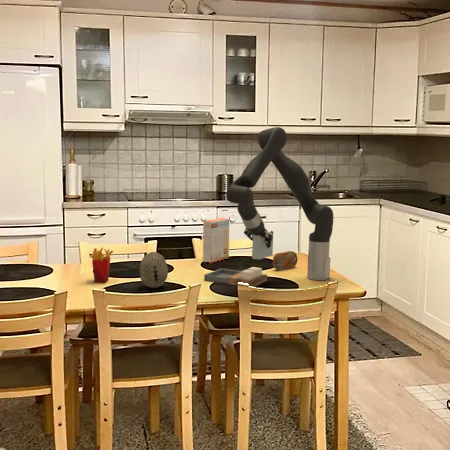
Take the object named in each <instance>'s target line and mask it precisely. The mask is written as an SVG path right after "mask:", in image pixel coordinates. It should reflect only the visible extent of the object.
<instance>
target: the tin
mask: <svg viewBox="0 0 450 450" xmlns="http://www.w3.org/2000/svg"><path fill="white" fill-rule="evenodd" d="M297 263H298V255H297V253H296V251H291V250H287V251H282V252H277V253H276V254H274V256H273V258H272V266H273V268H274V269H275V270H277V271H287V270H291V269H294V268H295V267H296V265H297Z"/></svg>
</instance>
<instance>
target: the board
mask: <svg viewBox="0 0 450 450" xmlns="http://www.w3.org/2000/svg"><path fill="white" fill-rule="evenodd" d="M265 281H267V282H268V274H265V273H262V275H261V276H258V277H256V278H254V279H251V280H249V279H242V278H241V272H239V273H237V274H234V275H232V276H229V277H227V284H226V285H230V286H237V283H238V282H243V283H248V284H250V286H256V287H258V286H260V285H262V284H261V283H263V282H265ZM265 283H266V282H265ZM259 284H260V285H259ZM263 284H264V283H263ZM257 285H258V286H257ZM237 287H238V286H237Z"/></svg>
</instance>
